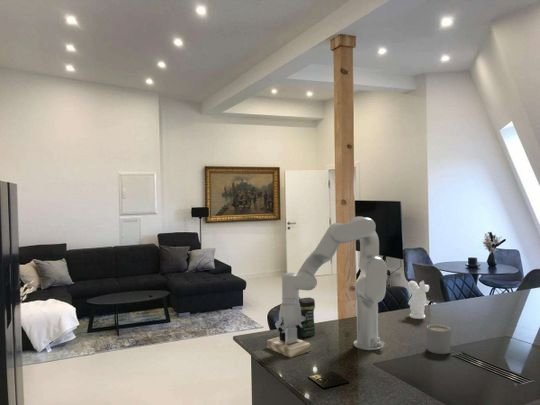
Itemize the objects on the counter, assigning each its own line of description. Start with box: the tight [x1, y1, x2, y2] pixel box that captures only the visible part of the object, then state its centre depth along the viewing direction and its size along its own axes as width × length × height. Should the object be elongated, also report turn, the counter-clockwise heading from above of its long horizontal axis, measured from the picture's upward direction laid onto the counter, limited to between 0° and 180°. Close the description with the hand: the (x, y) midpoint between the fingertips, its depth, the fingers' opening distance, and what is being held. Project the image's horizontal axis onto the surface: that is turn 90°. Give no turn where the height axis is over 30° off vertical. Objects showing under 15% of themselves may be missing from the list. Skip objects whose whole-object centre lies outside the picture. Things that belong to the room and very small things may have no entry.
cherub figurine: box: [407, 280, 430, 320], centre depth 244 cm, size 12×12×22 cm
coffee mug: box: [426, 324, 452, 355], centre depth 192 cm, size 13×10×10 cm
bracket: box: [284, 326, 298, 346], centre depth 193 cm, size 6×5×10 cm
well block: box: [267, 336, 311, 358], centre depth 193 cm, size 16×12×4 cm
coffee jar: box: [295, 297, 316, 338], centre depth 213 cm, size 10×8×19 cm
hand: (290, 338), depth 192 cm, fingers open, 9 cm apart
